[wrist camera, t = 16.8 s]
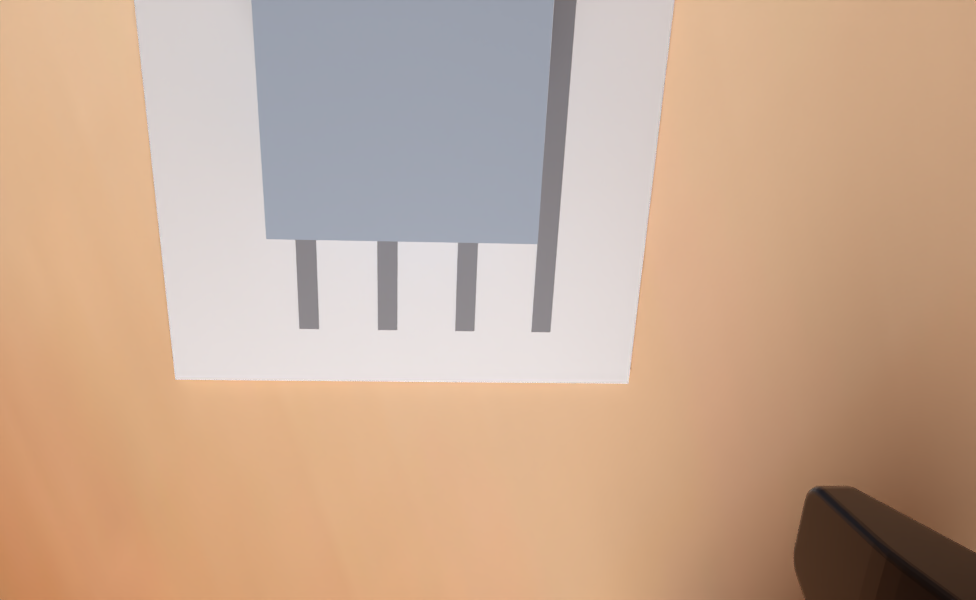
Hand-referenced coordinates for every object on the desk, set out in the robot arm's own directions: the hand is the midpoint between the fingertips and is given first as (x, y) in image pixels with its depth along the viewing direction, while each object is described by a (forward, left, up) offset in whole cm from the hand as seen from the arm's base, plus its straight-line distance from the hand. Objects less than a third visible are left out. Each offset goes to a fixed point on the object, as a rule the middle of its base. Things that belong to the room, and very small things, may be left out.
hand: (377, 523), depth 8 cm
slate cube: (+3, 0, -13) cm, 13 cm away
